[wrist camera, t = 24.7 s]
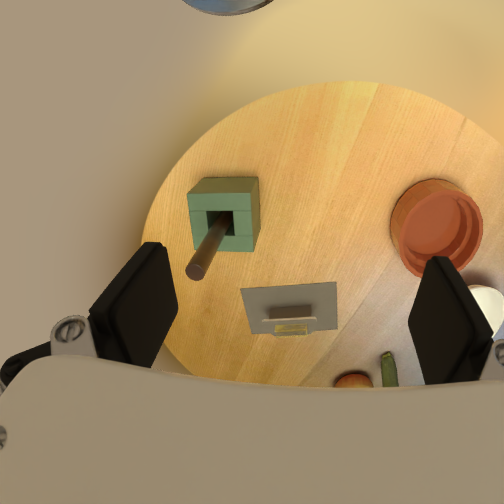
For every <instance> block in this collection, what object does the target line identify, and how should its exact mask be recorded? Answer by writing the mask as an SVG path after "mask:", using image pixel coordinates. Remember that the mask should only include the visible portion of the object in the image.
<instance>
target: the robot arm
mask: <svg viewBox="0 0 504 504" xmlns="http://www.w3.org/2000/svg"><path fill="white" fill-rule="evenodd" d="M177 312H178V302H177V297H176V293H175V288H174V283H173V278H172V273H171V268H170V263H169V258H168V253H167V249H166V247H165V246H163V245H162V244H161V243H160V242H145V243H144V244H143V245H142V246H141V247H140V248H139V249H138V251H137V252H136V253H135V254H134V255H133V256H132V258H131V259H130V260H129V261H128V262H127V263H126V265H125V266H124V267H123V268H122V269H121V271H120V272H119V273H118V274H117V275H116V277H115V278H114V279H113V280H112V281H111V283H110V284H109V285H108V287H107V288H106V289H105V290H104V291H103V293H102V294H101V295H100V297H99V298H98V299H97V300H96V302H95V303H94V304H93V305H92V307H91V308H90V309H89V313H90V315H89V316H88V318H85V317H84V316H80V315H73V316H68V317H66V318H64V319H62V320H60V321H59V322H58V323H57V324H56V325H55V326H54V327H53V329H52V331H51V335H50V339H51V340H50V341H49V342H46V343H44V344H41V345H39V346H36V347H34V348H31V349H29V350H26V351H24V352H21V353H19V354H16V355H14V356H12V357H10V358H9V359H7V360H6V362H5V363H4V364H3V366H2V368H1V370H0V504H504V339H499V340H496V341H495V342H494V341H493V339H492V336H493V334H494V332H493V330H492V328H491V326H490V324H489V322H488V321H487V319H486V317H485V315H484V313H483V312H482V310H481V308H480V306H479V305H478V303H477V301H476V300H475V298H474V296H473V295H472V293H471V291H470V290H469V288H468V286H467V285H466V283H465V282H464V280H463V279H462V277H461V275H460V274H459V272H458V271H457V269H456V268H455V266H454V265H453V263H452V262H451V260H450V259H449V258H448V257H447V256H432V258H431V259H429V260H427V262H426V265H425V269H424V272H423V275H422V279H421V282H420V285H419V288H418V292H417V295H416V298H415V301H414V304H413V307H412V309H411V312H410V315H409V319H408V326H409V330H410V333H411V336H412V339H413V342H414V346H415V349H416V352H417V356H418V359H419V363H420V367H421V370H422V374H423V378H424V381H425V385H421V386H405V387H382V388H323V387H299V386H282V385H269V384H257V383H247V382H237V381H229V380H220V379H213V378H205V377H198V376H192V375H185V374H179V373H173V372H168V371H162V370H156V369H151V366H152V364H153V362H154V360H155V358H156V356H157V354H158V352H159V349H160V347H161V345H162V343H163V341H164V339H165V337H166V335H167V333H168V331H169V329H170V327H171V325H172V323H173V321H174V319H175V317H176V315H177Z"/></svg>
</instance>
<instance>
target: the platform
mask: <svg viewBox="0 0 504 504" xmlns="http://www.w3.org/2000/svg"><path fill="white" fill-rule="evenodd" d="M240 290H241V294H242V298H243V302H244V306H245V309H246V313H247V317H248V321H249V325H250V329H251V333H252V334H265V333H271V334H272V335H274V336H276V338H285V337H286V336H291V335H306V336H307V335H308V334H311V333H312V332H313V331H321V330H334V329H338V323H337V286H336V282H327V283H315V284H302V285H289V286H275V287H260V288H244V289H240ZM292 337H304V336H292Z"/></svg>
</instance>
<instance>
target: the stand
mask: <svg viewBox="0 0 504 504" xmlns="http://www.w3.org/2000/svg"><path fill="white" fill-rule="evenodd" d="M187 200H188V207H189V215H190V223H191V229H192V236H193V243H194V250H197V249H198V247H199V245H200V244H201V242H202V241H203V239H204V237H205V236H206V234H207V232H208V231H209V229H210V228H211V226H212V224H213V223H214V221H215V220H216V218H217V217H218V215H219V213H220V212H221V211H233V220H232V222H231V224H230V226H229V228H228V230H227V232H226V234H225V236H224V238H223V240H222V242H221V244H220V246H219V248H218V250H217V251H230V252H254V249H255V246H256V242H257V239H258V236H259V232H260V229H261V227H260V203H259V180H258V177H216V178H203V179H202V180H201V181H200V182H198V183H197V184H196V185H195V186H194V187H193V188H192V189H191V190H190V191H189V192H188V193H187Z"/></svg>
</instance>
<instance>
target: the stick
mask: <svg viewBox="0 0 504 504" xmlns="http://www.w3.org/2000/svg"><path fill="white" fill-rule="evenodd" d="M232 220H233V211H221V212H220V213H219V215H218V217H217V218H216V220H215V221H214V223H213V224H212V226H211V228H210V229H209V231H208V232H207V234H206V236H205V237H204V239H203V241H202V242H201V244H200V245H199V247H198V249H197V250H196V252H195V254H194V255H193V257H192V259H191V260H190V262H189V263H188V265H187V267H186V269H185V271H186V275H187V276H188V277H189V278H190V279H192V280H194V281H199V280H201V279H203V278H204V276H205V274H206V272H207V270H208V268H209V266H210V264H211V262H212V260H213V258H214V256H215V254H216V252H217V250H218V248H219V246H220V244H221V242H222V240H223V238H224V236H225V234H226V232H227V230H228V228H229V226H230V224H231V222H232Z"/></svg>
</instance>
